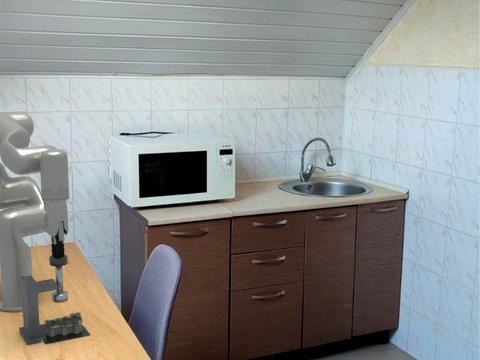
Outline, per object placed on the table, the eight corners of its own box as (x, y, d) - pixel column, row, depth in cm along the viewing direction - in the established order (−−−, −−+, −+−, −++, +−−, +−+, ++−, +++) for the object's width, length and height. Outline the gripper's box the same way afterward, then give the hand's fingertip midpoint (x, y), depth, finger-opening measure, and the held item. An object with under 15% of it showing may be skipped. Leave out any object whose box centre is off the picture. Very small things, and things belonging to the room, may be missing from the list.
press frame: (18, 329, 198) (14, 273, 195) (77, 318, 206) (74, 264, 203) (28, 348, 186) (25, 289, 183) (90, 336, 195) (88, 279, 191)
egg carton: (82, 324, 202) (82, 311, 201) (83, 334, 195) (82, 321, 194) (45, 327, 199) (44, 314, 199) (44, 338, 192) (44, 324, 191)
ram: (49, 298, 196) (47, 255, 194) (66, 295, 199) (64, 253, 196) (53, 304, 192) (51, 260, 189) (71, 301, 194) (69, 258, 192)
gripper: (35, 190, 194) (38, 251, 197) (48, 200, 181) (51, 266, 185) (61, 187, 197) (64, 247, 201) (76, 197, 184) (78, 262, 188)
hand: (58, 256), depth 193 cm, fingers closed
